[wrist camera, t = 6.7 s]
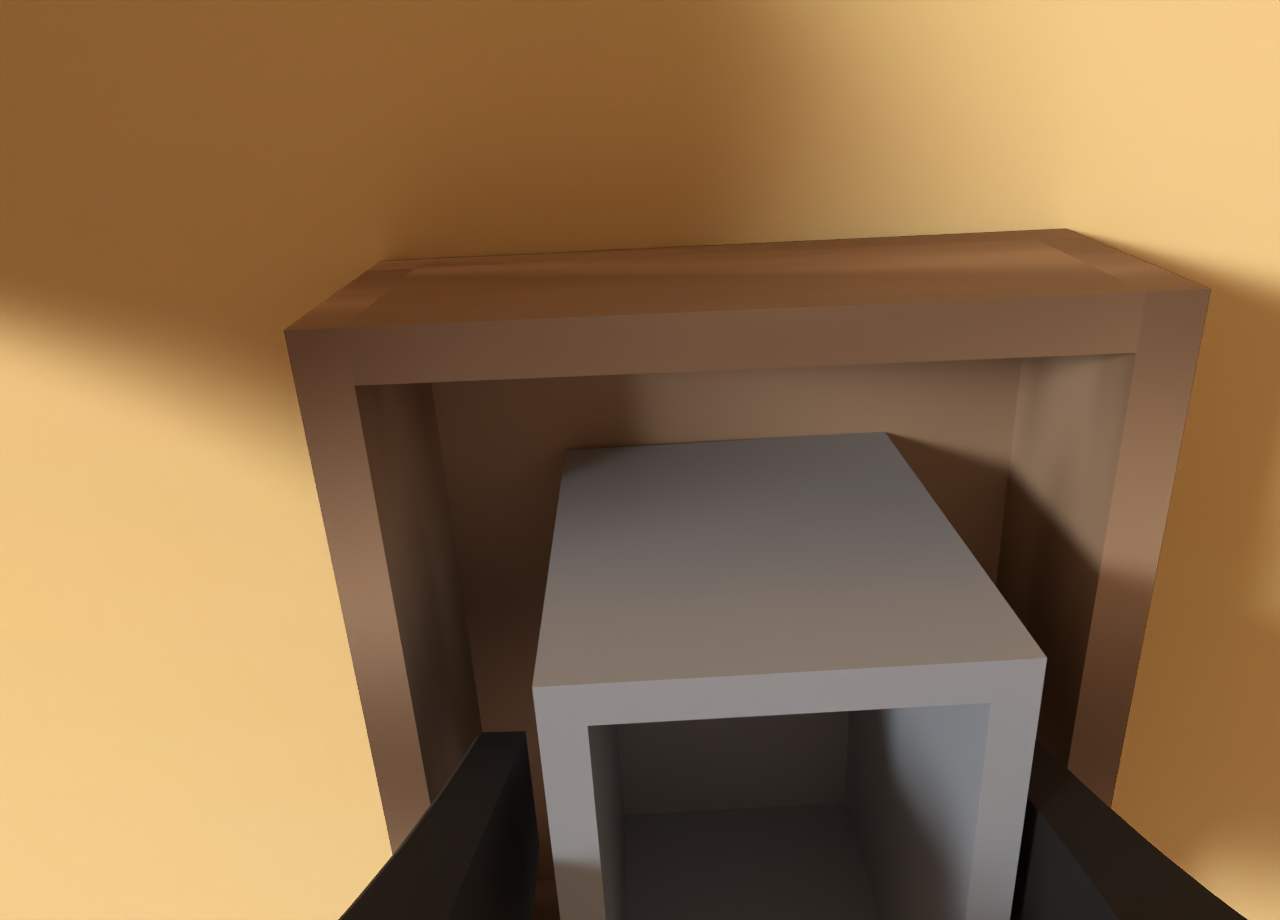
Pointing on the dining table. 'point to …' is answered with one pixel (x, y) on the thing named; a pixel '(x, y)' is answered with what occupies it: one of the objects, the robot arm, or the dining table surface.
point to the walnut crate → (736, 410)
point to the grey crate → (777, 690)
